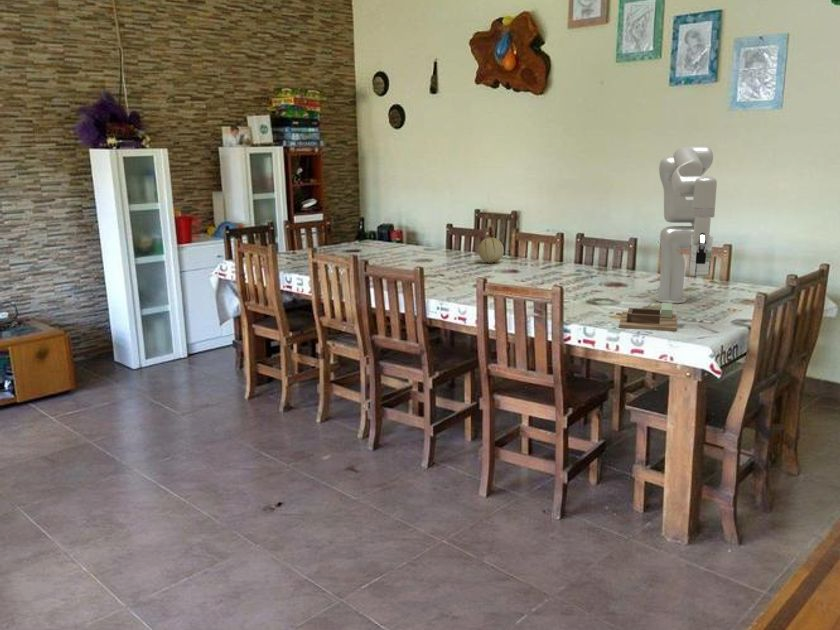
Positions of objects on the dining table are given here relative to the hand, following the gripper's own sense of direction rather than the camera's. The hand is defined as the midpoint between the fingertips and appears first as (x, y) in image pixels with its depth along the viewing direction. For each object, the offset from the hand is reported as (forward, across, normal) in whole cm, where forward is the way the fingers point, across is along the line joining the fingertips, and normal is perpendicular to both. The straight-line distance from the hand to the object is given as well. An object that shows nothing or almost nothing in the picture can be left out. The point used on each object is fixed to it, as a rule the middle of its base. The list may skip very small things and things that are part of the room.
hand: (700, 261), depth 265 cm
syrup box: (+5, 0, 0) cm, 5 cm away
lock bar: (+22, -8, -10) cm, 26 cm away
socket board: (+24, +1, -17) cm, 29 cm away
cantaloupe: (+25, -122, -105) cm, 163 cm away
